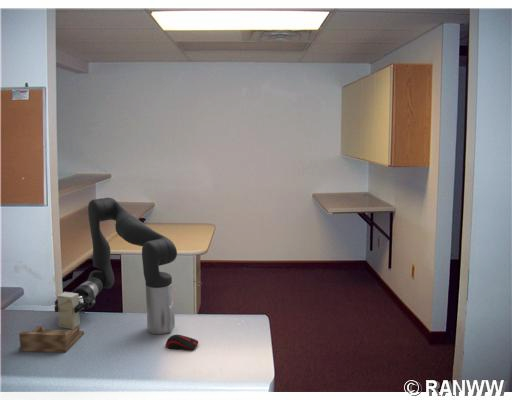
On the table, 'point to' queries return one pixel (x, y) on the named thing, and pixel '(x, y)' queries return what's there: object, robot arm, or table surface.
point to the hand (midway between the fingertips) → (65, 310)
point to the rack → (49, 339)
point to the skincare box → (68, 310)
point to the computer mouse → (181, 343)
